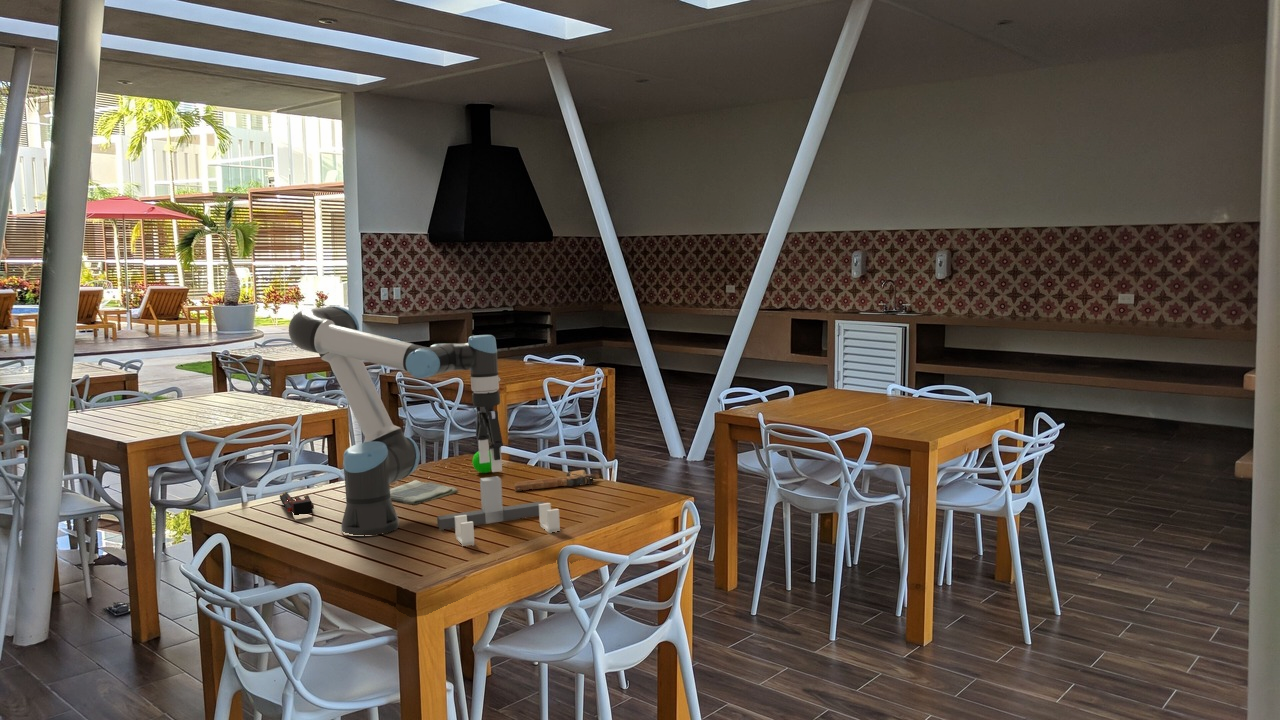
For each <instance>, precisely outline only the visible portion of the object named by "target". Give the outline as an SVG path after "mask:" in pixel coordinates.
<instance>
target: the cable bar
mask: <svg viewBox="0 0 1280 720" xmlns="http://www.w3.org/2000/svg"><path fill="white" fill-rule="evenodd" d="M479 485H480V502H481V503H480V504H481V505H480V506H481V509H479V510H471V511H465V512H457V513H450V514H444V515H437V516H436V520H437V521H436V522H437V528H438V527H439V528H438V529H439V531H445V530H444V529H448V530H452V529H451V528H454V529H455V517H454V516H460V515H467V522H470V521H473V526H474V525H475V526H481V525H487V524H493V523H500V522H501V523H502V522H506V521H507V522H508V521H514V520H515V521H516V520H521V519H520V518H522V519H526V518H525V517H529V518H533V517H532V516H535V517H539V504H543V503H544V502H543V501H536V502H529V503H521V504H520V503H519V504H515V505H508V506H507V505H506V506H503V490H502V489H503V487H502V478H501V477H500V476H498V475H497V476H490V477H489V476H488V477H481V478H479Z"/></svg>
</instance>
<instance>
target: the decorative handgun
mask: <svg viewBox="0 0 1280 720" xmlns="http://www.w3.org/2000/svg"><path fill="white" fill-rule="evenodd" d="M569 473H571V474H569ZM572 474H577V475H581V476H577V475H572ZM583 476H585V477H583ZM590 478H592V479H590ZM593 479H598V480H599V479H600V474H597V473H594V474H592V473H588V474H587V472H586V470H584V469H578V470H577V469H576V470H570V471H568V472H567V474H566V476H560V477H559V476H558V477H550V478H543V479H533V480H525V481H517V482H515V483H514V491H515V492H522V490H523V491H530V490H529V489H532V490H540V489H541V490H542V489H549V488H557V487H556V486H564V487H573V485H575V486H578V485H580V484H589V485H592V484H593V482H594V481H596V480H593ZM592 481H593V482H592ZM591 483H592V484H591ZM580 486H581V485H580Z"/></svg>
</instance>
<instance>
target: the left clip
mask: <svg viewBox="0 0 1280 720" xmlns="http://www.w3.org/2000/svg"><path fill="white" fill-rule="evenodd" d="M454 517H455V528H454V530H455V531H454V532H455V540H456V541H457V540H458V541H459V542H460V543H461V544H462V545H461V544H460V543H459V542H458V541H457V542H458V543H459V544H460V545H461V546H462V547H463V546H466V545H472V546H475V531H474V526H473V521H470V522H467V515H460V516H454ZM466 547H467V546H466Z"/></svg>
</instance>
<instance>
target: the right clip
mask: <svg viewBox="0 0 1280 720" xmlns="http://www.w3.org/2000/svg"><path fill="white" fill-rule="evenodd" d="M538 517H539V527H541V528H542V529H543V530H544V529H545V530H544V531H546V532H547V533H548V534H553V533H552V532H555V533H558V532H557V531H560V532H561V526H560V525H561V523H560V522H561V521H560V509H559V508H552V503H550V502H543V504H539V516H538Z"/></svg>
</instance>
